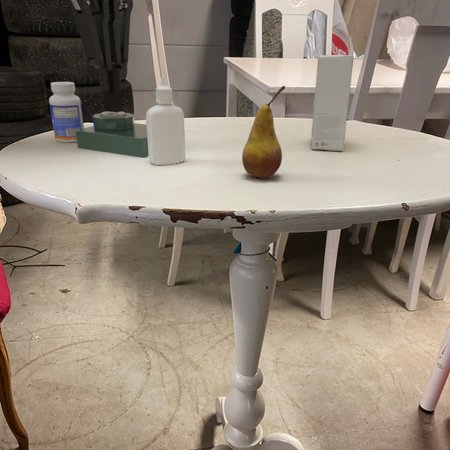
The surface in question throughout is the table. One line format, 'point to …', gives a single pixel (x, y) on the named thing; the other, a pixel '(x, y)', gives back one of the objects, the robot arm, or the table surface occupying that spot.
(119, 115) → the pump button
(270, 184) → the table surface
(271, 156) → the fruit
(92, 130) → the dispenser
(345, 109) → the cosmetic box
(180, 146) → the eye dropper bottle
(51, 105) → the pill bottle
